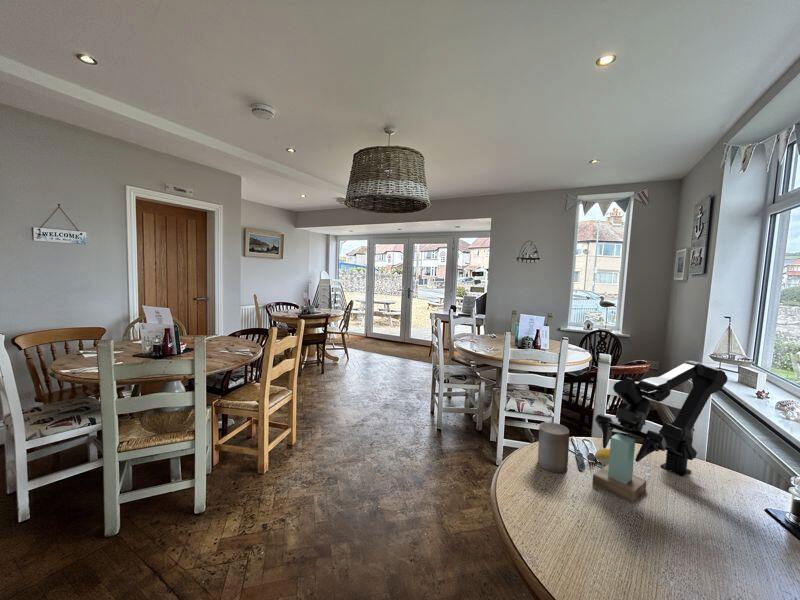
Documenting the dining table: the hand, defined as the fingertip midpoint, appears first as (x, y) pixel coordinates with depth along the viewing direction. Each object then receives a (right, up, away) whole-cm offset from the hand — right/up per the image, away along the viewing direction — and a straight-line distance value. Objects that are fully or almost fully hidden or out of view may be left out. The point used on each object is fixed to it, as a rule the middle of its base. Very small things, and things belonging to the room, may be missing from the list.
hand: (619, 454), depth 104 cm
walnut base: (+1, -11, +2) cm, 11 cm away
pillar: (+1, -8, +1) cm, 8 cm away
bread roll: (+7, -11, +16) cm, 21 cm away
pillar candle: (-16, -10, +13) cm, 22 cm away
